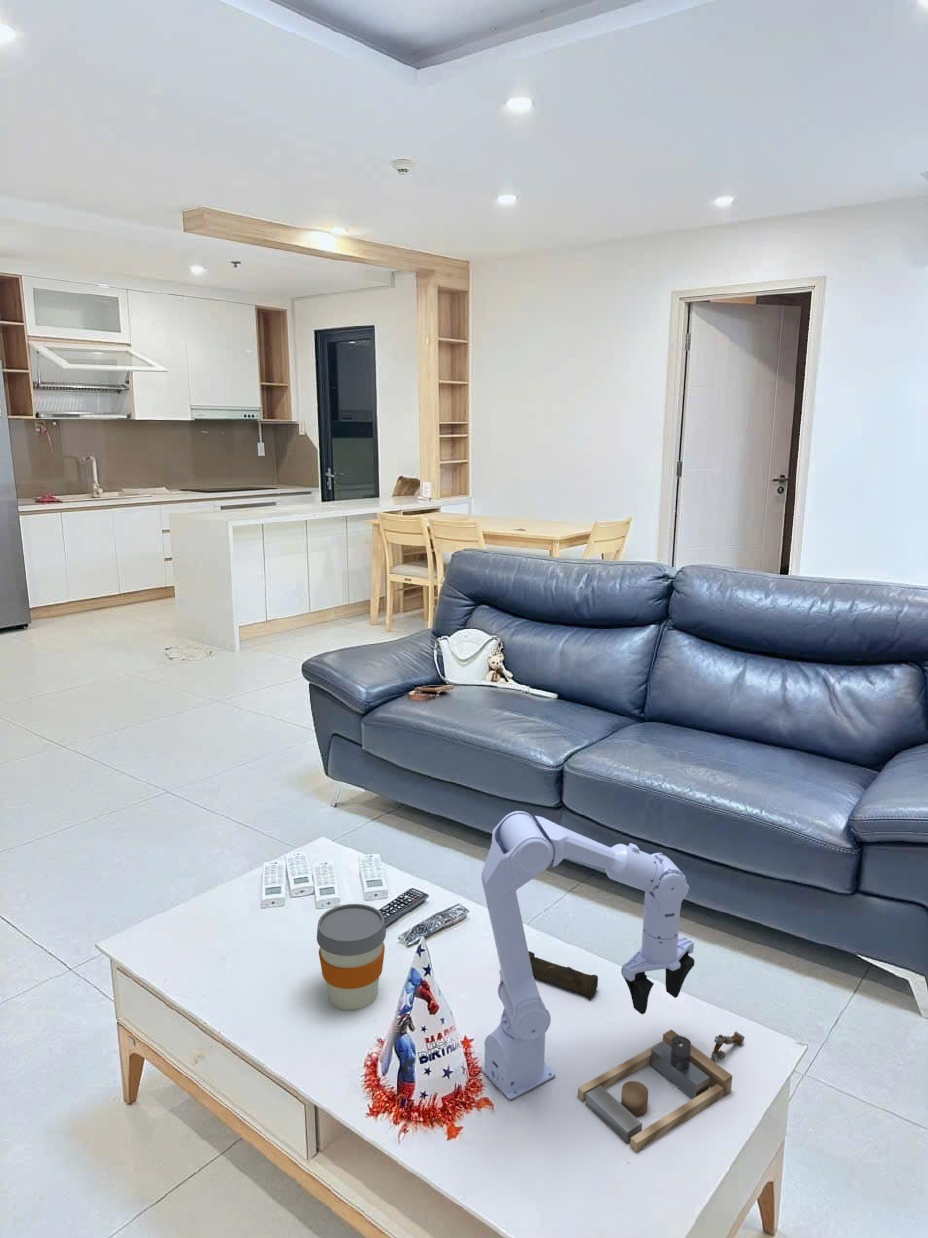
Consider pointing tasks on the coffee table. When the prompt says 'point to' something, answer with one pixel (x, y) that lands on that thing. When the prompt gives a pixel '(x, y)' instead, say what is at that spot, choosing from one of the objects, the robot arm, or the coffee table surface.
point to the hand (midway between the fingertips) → (655, 1002)
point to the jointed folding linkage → (727, 1040)
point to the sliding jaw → (679, 1066)
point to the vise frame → (632, 1127)
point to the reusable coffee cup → (351, 954)
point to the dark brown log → (564, 976)
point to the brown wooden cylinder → (635, 1098)
